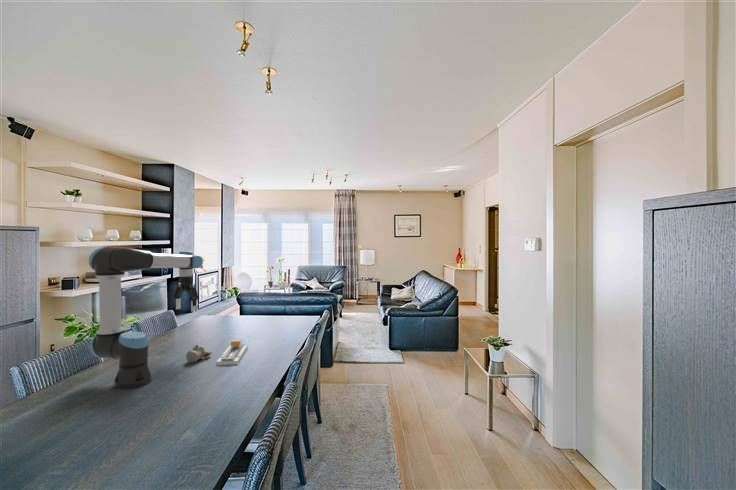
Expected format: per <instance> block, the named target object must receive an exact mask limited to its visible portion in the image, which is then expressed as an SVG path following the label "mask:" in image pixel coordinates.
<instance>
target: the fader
mask: <svg viewBox="0 0 736 490" xmlns="http://www.w3.org/2000/svg"><path fill="white" fill-rule="evenodd" d="M241 344H242V343H241V339H233V340H232V339H231V341H230V346H231V347H233V350H237V348H238V346H240V345H241Z"/></svg>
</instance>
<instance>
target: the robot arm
mask: <svg viewBox="0 0 736 490" xmlns="http://www.w3.org/2000/svg"><path fill="white" fill-rule="evenodd" d="M88 257H89V258H88V265H89V267H90V268H91V269H92V270H93V271H94V276H95V277H96V278H97V279H98V283H99V284H98V287H99V289H98V296H99V299H98V301H99V304H98V305H99V310H98V311H99V328H98V329H97V330H96V331H95V336H93V338H92V340H90V342H89V343H90V344H89V349H90V353H92V355H93V356H95V357H97V358H101V359H104V360H105V359H106V360H107V359H108V360H117V361H118V369H117V370H118V371H117V372H116V374H115V378H114V381H113V387H114V388H116V389H122V390H124V389H125V390H127V389H133V388H139V387H142V386H145V385H148V384H149V383H150V382H152V381H153V373H152V371H151V368H150V366H149V336H148V334H146V333H145V332H142V331H127V332H126V328H125V327H124V326H123V325H122V278H123V276H125V272H126V273H127V272H135V271H147V270H150V269H178V282H177V283H176V287H175V290H174V293H173V298H174V299H175V310H180V309H182V305H181V304H182V299H181V297H182V295H183V293H184V292H187V293H188V295H189V297H190V299H191V300H190V312H196V311H197V308H196V306H197V300H199V299H200V298H199V297H200V296H199V294H198V292H197V291H198V290H197V288H196V284H195V283H194V284H193V280H194V278H193V277H194V276H193V274H194V273H193V271H194V270H193V269H200V268H202V266H203V265H204V260H203V258H202V256H201V255H198V254H195V255H194V254H193V251H191V250H181V251H179V252H178V253H177V254H175V253H157V252H151V251H149V250H144V249H143V250H142V249H136V248H132V247H131V248H130V247H114V246H111V247H110V246H105V247H104V246H103V247H100V248H99V247H98V248H97V249H95V250H93V251H92V252H91V254H90V255H89V256H88Z"/></svg>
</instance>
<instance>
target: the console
mask: <svg viewBox="0 0 736 490" xmlns="http://www.w3.org/2000/svg"><path fill="white" fill-rule="evenodd" d="M248 348H249V347H248V344H245V345H244V343H241V345H240V346H238V348H237V350H233V347H231V345H228V347H227V348H226V350H225V351H223V353H222V354H220V357H219V358H217V360H216V366H230V365H233V366H234V365H238V364H239V363H240V361H241V360H242V358H243V356H244V355H245V353H246V352H247V349H248Z"/></svg>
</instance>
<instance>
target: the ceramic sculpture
mask: <svg viewBox="0 0 736 490" xmlns="http://www.w3.org/2000/svg"><path fill="white" fill-rule="evenodd" d="M212 353H213V352H208V351H205V348H204V347H203V346H199V345H195V346H193V347H192V349H191V350H189V351H187V353H186V355H185V358H186V361H187V362H188V363H191V364H192V363H197V361H199V360H201V359H203V358H207V357H209V356H210V355H212Z"/></svg>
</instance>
